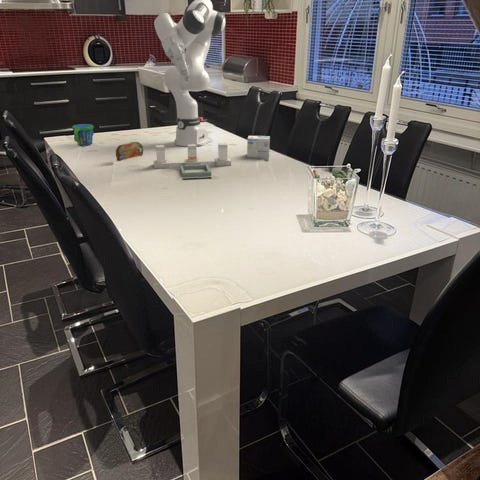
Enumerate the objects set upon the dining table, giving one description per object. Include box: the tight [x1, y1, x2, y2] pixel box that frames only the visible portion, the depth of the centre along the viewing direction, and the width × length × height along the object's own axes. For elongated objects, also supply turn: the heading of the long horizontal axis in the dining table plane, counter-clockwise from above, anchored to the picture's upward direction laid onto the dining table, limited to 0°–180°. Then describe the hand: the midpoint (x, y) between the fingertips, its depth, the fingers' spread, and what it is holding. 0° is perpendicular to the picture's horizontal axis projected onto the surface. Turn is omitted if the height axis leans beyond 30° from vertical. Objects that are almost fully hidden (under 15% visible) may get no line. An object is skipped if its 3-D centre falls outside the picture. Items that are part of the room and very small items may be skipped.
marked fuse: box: [186, 144, 197, 162], centre depth 209 cm, size 4×4×9 cm
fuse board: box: [153, 156, 232, 170], centre depth 210 cm, size 9×34×4 cm, turn 102°
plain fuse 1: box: [155, 144, 166, 163], centre depth 206 cm, size 4×4×9 cm
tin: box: [115, 141, 144, 161], centre depth 220 cm, size 15×3×8 cm, turn 143°
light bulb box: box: [246, 135, 271, 161], centre depth 226 cm, size 11×7×11 cm, turn 84°
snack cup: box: [71, 123, 95, 147], centre depth 248 cm, size 16×11×10 cm
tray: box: [179, 165, 212, 181], centre depth 200 cm, size 12×12×3 cm
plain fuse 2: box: [217, 142, 228, 161], centre depth 211 cm, size 4×4×9 cm
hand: (186, 75), depth 200 cm, fingers open, 8 cm apart
